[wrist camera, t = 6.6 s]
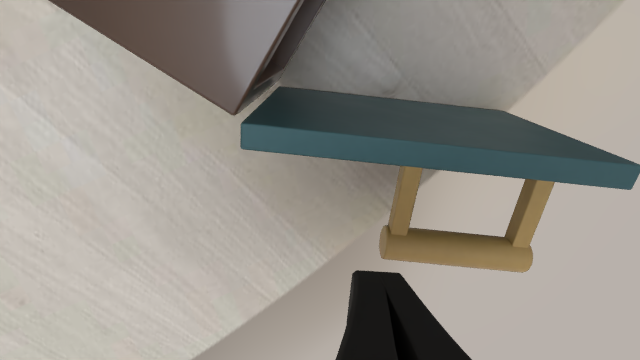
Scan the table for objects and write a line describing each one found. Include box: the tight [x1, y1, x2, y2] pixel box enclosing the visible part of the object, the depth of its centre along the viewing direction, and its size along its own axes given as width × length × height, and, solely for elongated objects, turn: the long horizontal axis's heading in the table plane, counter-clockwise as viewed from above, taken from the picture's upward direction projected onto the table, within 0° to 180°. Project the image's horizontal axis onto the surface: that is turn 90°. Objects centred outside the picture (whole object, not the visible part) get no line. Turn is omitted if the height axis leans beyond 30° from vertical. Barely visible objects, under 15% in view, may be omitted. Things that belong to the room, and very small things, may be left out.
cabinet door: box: [241, 87, 640, 273], centre depth 15 cm, size 6×12×8 cm, turn 84°
